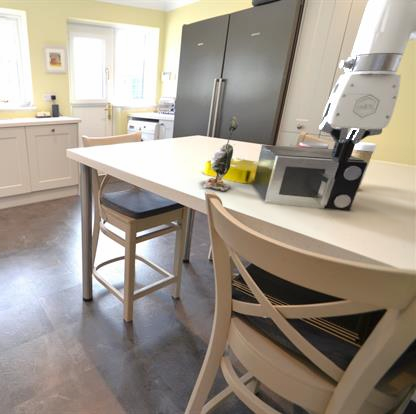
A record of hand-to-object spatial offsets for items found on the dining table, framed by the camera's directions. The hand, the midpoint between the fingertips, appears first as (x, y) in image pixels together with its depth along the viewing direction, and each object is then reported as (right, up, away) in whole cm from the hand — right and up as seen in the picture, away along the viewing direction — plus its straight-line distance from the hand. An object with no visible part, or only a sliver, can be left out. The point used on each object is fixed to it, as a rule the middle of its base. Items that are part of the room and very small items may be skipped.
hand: (338, 161), depth 61 cm
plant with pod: (-18, -4, +22) cm, 29 cm away
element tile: (-8, 0, +34) cm, 35 cm away
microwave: (0, -7, +14) cm, 16 cm away
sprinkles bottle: (+21, -5, +22) cm, 31 cm away
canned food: (+16, 0, +34) cm, 37 cm away
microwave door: (-5, -11, +6) cm, 13 cm away
